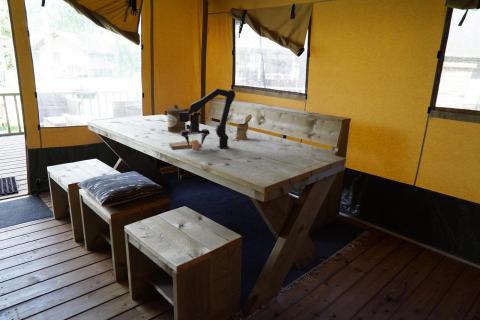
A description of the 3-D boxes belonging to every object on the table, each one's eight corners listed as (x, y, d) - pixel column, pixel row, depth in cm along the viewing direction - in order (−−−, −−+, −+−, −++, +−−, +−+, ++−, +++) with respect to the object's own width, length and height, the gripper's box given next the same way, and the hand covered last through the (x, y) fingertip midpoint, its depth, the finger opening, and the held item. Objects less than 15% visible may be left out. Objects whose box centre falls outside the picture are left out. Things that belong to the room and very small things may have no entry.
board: (201, 146, 230) (201, 143, 230) (172, 149, 223) (172, 146, 223) (197, 143, 239) (197, 140, 239) (169, 145, 232) (169, 142, 232)
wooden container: (164, 130, 282) (163, 104, 276) (179, 128, 292) (178, 102, 285) (173, 133, 272) (172, 106, 265) (189, 131, 281) (188, 104, 275)
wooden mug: (254, 138, 258) (254, 115, 253) (240, 140, 250) (240, 116, 245) (247, 136, 265) (247, 113, 260) (233, 138, 257) (233, 115, 252)
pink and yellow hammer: (198, 149, 225) (198, 141, 223) (193, 149, 224) (193, 141, 222) (193, 144, 236) (193, 137, 235) (188, 144, 235) (188, 137, 234)
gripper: (204, 119, 231) (205, 141, 236) (178, 120, 225) (179, 143, 229) (209, 122, 221) (209, 145, 226) (181, 123, 215) (182, 147, 219)
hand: (195, 145), depth 225 cm, fingers open, 9 cm apart
